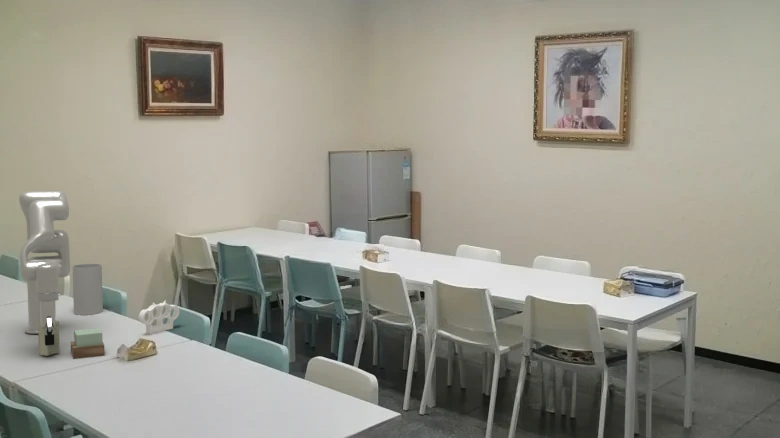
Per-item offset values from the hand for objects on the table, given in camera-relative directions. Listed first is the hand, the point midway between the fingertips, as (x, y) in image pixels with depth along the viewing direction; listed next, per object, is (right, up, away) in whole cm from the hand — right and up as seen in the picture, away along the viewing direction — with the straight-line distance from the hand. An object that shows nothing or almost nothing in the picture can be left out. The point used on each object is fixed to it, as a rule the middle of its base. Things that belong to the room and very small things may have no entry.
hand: (49, 342), depth 287 cm
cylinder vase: (-10, 0, +64) cm, 65 cm away
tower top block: (+14, -1, +2) cm, 14 cm away
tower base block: (+14, -5, +3) cm, 15 cm away
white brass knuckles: (+32, -3, +34) cm, 46 cm away
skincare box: (0, -5, 0) cm, 5 cm away
